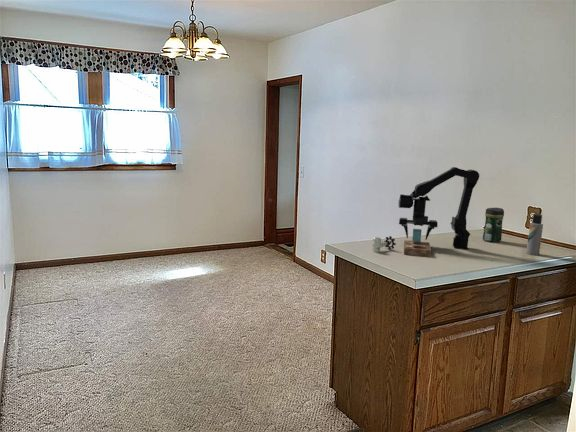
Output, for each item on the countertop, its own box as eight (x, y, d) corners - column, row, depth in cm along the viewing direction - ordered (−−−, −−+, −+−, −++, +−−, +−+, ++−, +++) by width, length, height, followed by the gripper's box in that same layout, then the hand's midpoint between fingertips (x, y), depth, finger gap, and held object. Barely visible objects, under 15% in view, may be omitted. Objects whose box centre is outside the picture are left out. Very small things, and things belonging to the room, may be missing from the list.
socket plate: (428, 248, 238) (429, 242, 238) (430, 256, 221) (431, 250, 220) (403, 246, 241) (404, 239, 240) (403, 254, 224) (404, 247, 223)
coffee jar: (491, 238, 270) (495, 206, 267) (503, 241, 263) (507, 208, 260) (479, 240, 265) (483, 206, 262) (491, 243, 258) (495, 209, 255)
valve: (378, 253, 223) (395, 250, 230) (379, 239, 222) (396, 237, 229) (368, 250, 228) (384, 248, 235) (369, 237, 227) (385, 234, 234)
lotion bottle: (538, 253, 238) (543, 213, 235) (540, 255, 233) (545, 215, 230) (525, 251, 240) (530, 212, 237) (527, 254, 235) (532, 214, 231)
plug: (419, 244, 247) (421, 229, 245) (420, 246, 243) (421, 230, 242) (411, 243, 248) (413, 228, 246) (411, 245, 244) (413, 229, 242)
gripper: (400, 209, 237) (397, 240, 239) (439, 212, 232) (436, 244, 235) (400, 206, 247) (398, 236, 250) (438, 209, 243) (435, 239, 246)
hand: (416, 239), depth 245 cm, fingers open, 9 cm apart
